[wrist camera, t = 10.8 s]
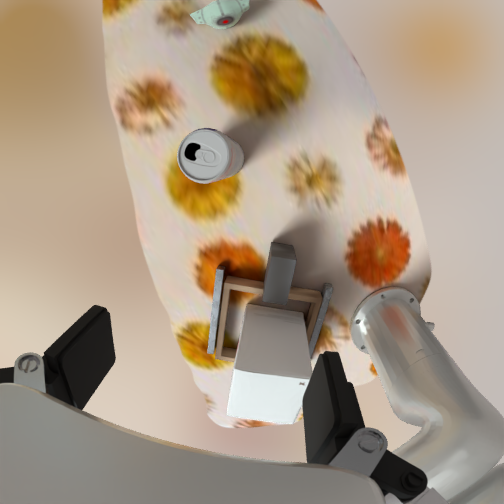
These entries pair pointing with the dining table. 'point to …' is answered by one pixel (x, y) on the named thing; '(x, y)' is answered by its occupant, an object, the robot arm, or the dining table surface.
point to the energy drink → (209, 156)
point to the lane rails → (217, 301)
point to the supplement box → (270, 366)
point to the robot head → (221, 13)
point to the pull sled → (269, 293)
